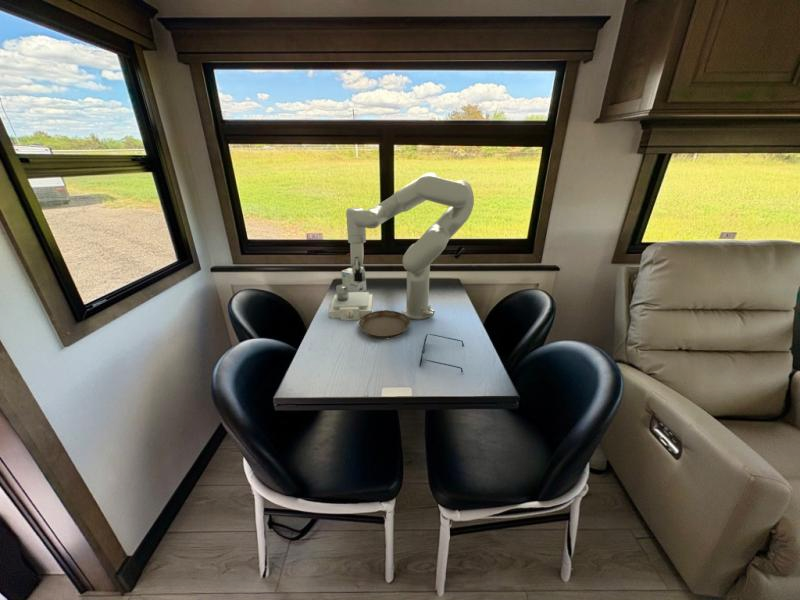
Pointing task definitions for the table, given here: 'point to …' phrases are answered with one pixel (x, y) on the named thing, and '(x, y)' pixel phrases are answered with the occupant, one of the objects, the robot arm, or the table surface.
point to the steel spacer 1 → (342, 292)
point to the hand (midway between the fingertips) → (358, 278)
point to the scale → (352, 306)
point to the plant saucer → (384, 324)
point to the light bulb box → (348, 280)
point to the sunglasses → (434, 361)
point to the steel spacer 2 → (361, 271)
